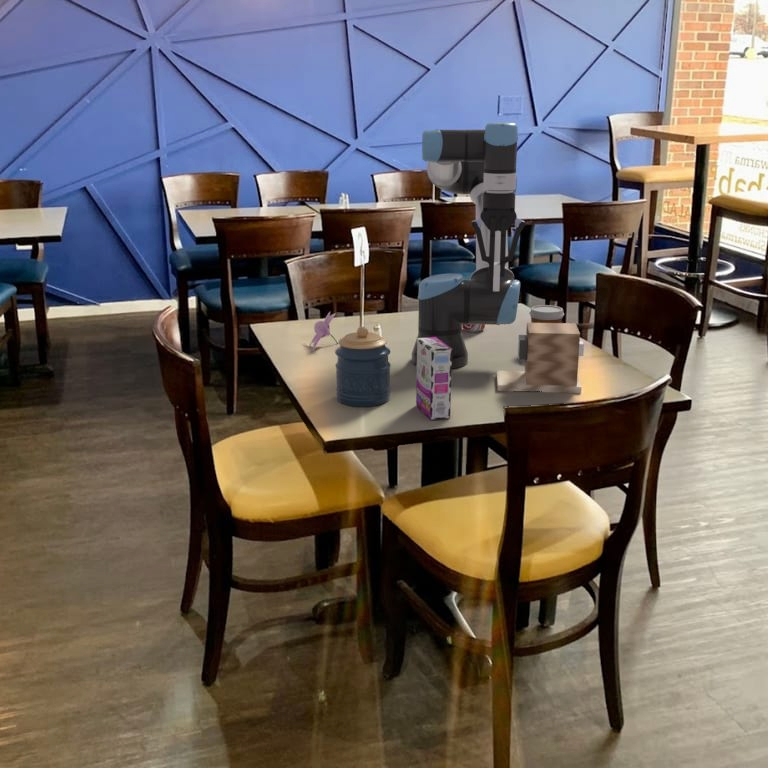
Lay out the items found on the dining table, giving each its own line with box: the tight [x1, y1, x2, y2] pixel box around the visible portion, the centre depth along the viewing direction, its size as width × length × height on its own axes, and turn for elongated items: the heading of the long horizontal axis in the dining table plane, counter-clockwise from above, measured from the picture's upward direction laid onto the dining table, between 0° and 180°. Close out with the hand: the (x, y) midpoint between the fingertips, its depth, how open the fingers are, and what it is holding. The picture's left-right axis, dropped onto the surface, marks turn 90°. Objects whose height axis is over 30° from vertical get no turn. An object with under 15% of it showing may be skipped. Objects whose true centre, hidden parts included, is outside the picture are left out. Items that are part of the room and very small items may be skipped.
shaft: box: [517, 334, 585, 361], centre depth 225 cm, size 16×5×5 cm, turn 85°
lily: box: [310, 311, 339, 351], centre depth 263 cm, size 12×12×10 cm
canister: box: [334, 326, 392, 408], centre depth 216 cm, size 13×13×18 cm
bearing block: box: [496, 322, 582, 394], centre depth 226 cm, size 20×12×14 cm, turn 85°
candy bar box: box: [415, 337, 453, 421], centre depth 207 cm, size 11×5×16 cm, turn 16°
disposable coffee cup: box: [528, 304, 565, 323], centre depth 255 cm, size 10×10×12 cm
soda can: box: [462, 324, 486, 333], centre depth 277 cm, size 7×7×12 cm
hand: (496, 290), depth 222 cm, fingers closed
